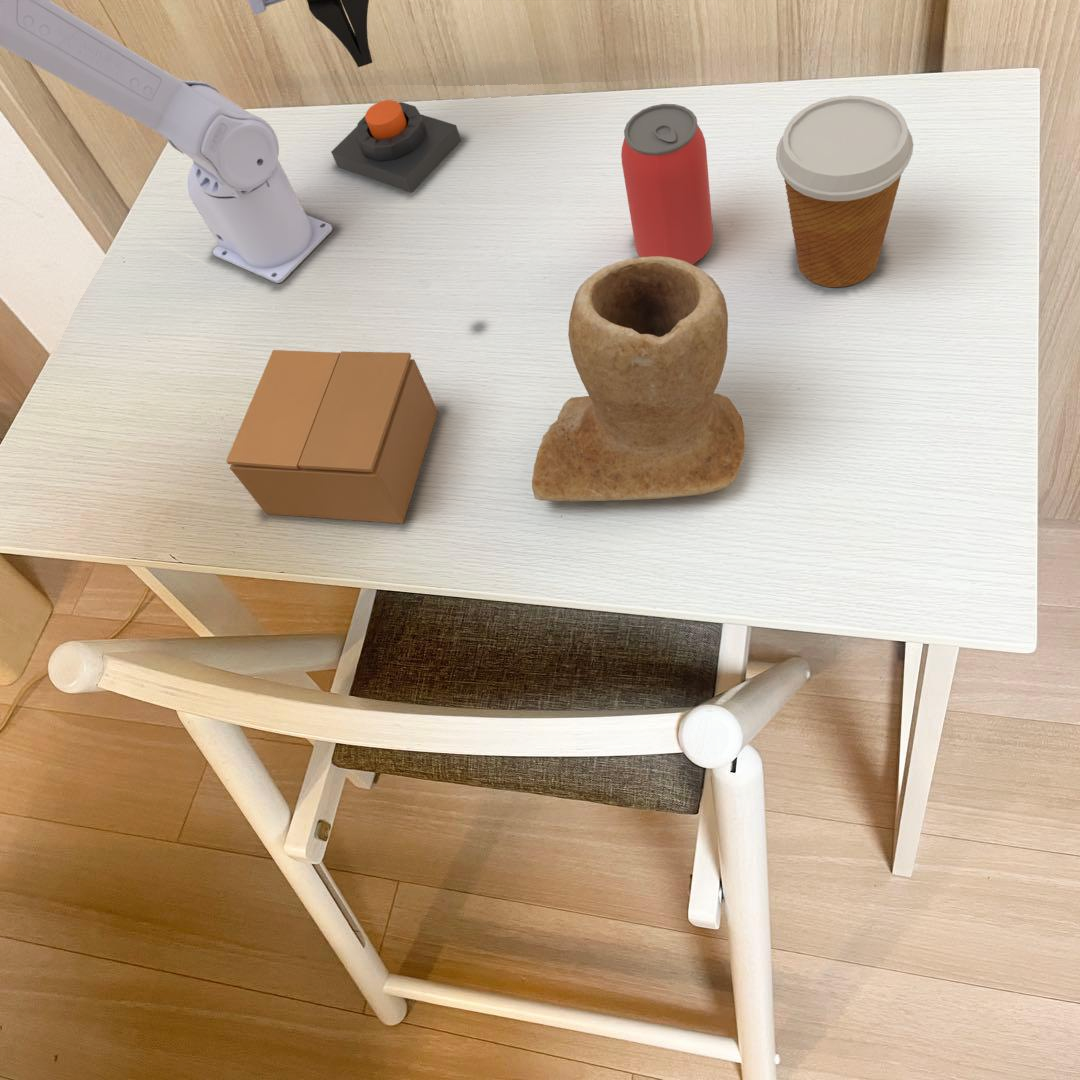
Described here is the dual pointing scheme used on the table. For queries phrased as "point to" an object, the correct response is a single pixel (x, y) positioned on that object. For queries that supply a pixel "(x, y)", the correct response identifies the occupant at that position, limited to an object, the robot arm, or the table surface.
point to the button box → (398, 150)
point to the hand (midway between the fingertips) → (363, 59)
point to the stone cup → (644, 390)
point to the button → (385, 119)
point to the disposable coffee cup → (842, 184)
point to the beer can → (667, 183)
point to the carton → (355, 445)
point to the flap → (283, 409)
